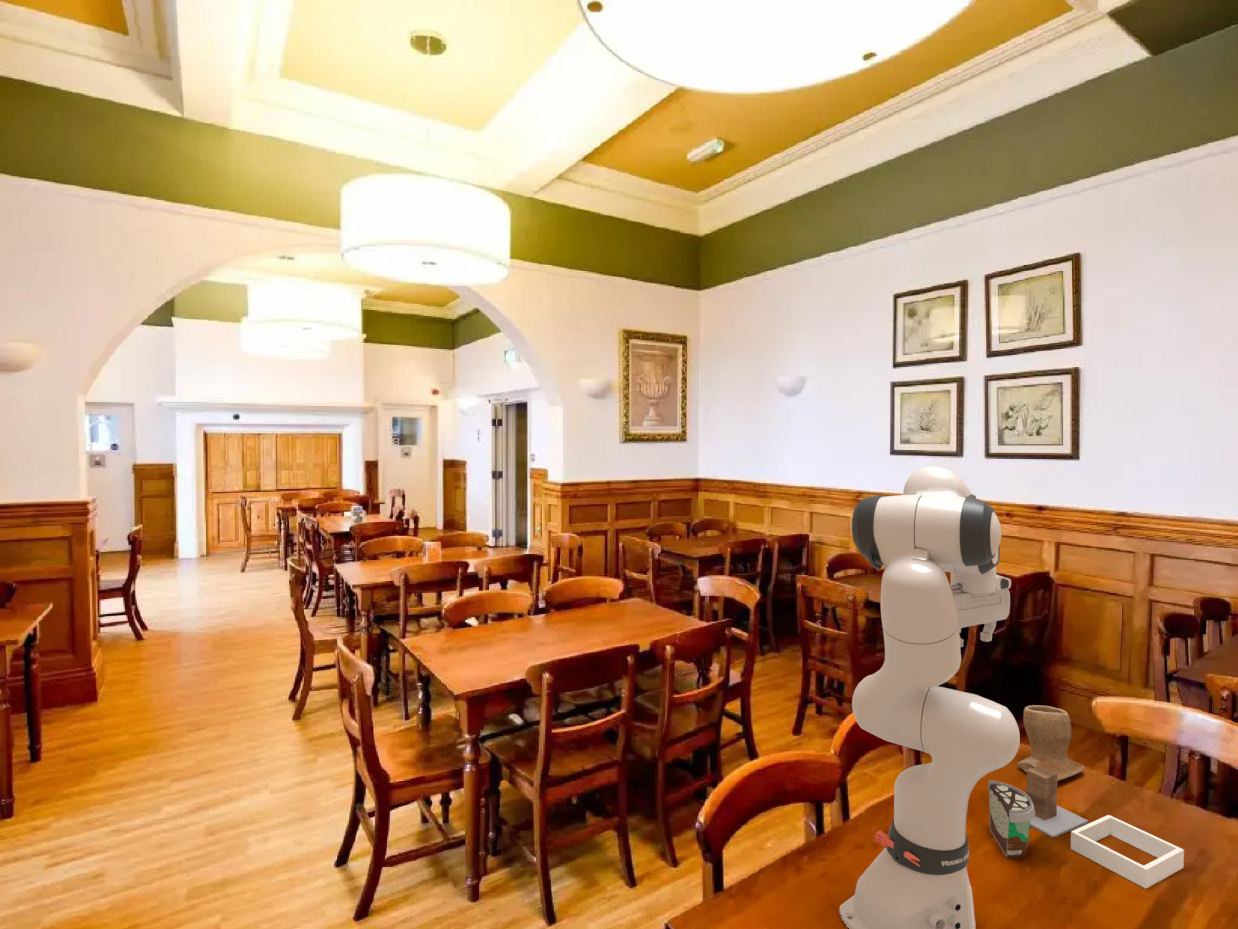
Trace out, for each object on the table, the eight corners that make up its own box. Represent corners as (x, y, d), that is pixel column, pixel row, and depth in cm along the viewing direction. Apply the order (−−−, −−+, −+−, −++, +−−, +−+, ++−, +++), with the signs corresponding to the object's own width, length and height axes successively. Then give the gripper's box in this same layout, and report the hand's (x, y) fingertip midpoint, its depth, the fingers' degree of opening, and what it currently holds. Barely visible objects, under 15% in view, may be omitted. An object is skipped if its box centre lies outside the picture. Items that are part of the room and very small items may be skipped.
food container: (1045, 867, 125) (1046, 815, 124) (1009, 863, 126) (1010, 811, 125) (1019, 829, 137) (1020, 781, 136) (987, 825, 138) (988, 778, 138)
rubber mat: (1053, 838, 133) (1053, 836, 133) (996, 808, 144) (996, 806, 144) (1088, 822, 139) (1088, 820, 139) (1030, 795, 150) (1030, 792, 150)
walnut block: (1044, 820, 139) (1045, 778, 138) (1025, 811, 142) (1026, 770, 142) (1056, 815, 140) (1057, 774, 140) (1037, 806, 144) (1038, 765, 144)
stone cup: (1041, 753, 169) (1042, 695, 168) (1091, 775, 158) (1093, 713, 157) (1002, 767, 162) (1003, 706, 162) (1052, 790, 152) (1054, 726, 151)
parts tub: (1145, 888, 119) (1146, 869, 118) (1070, 849, 130) (1071, 831, 130) (1183, 868, 124) (1184, 849, 124) (1108, 831, 136) (1108, 814, 136)
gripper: (953, 589, 138) (952, 655, 139) (1016, 579, 147) (1015, 641, 148) (927, 583, 144) (926, 646, 145) (989, 574, 153) (988, 633, 154)
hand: (972, 643), depth 146 cm, fingers open, 8 cm apart
